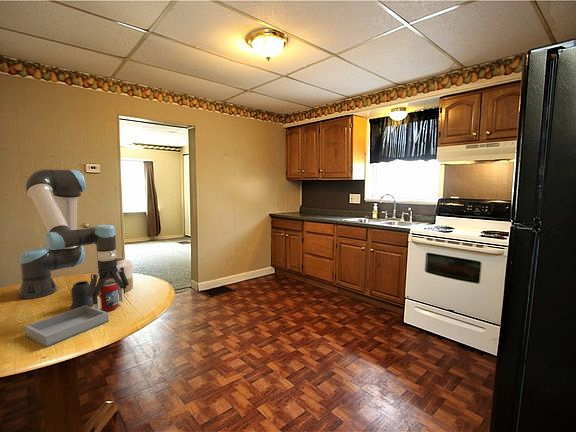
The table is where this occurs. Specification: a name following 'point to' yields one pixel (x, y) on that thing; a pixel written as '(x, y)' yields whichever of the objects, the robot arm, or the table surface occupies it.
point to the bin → (66, 325)
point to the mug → (80, 295)
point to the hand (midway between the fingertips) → (110, 305)
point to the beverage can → (109, 296)
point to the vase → (127, 270)
